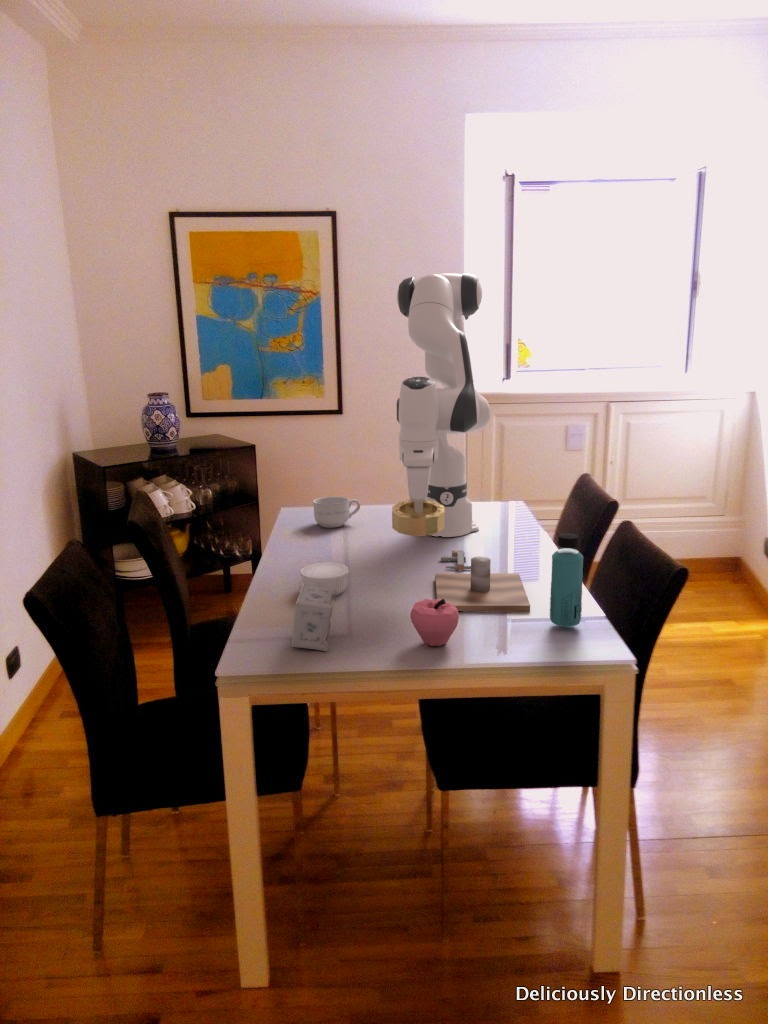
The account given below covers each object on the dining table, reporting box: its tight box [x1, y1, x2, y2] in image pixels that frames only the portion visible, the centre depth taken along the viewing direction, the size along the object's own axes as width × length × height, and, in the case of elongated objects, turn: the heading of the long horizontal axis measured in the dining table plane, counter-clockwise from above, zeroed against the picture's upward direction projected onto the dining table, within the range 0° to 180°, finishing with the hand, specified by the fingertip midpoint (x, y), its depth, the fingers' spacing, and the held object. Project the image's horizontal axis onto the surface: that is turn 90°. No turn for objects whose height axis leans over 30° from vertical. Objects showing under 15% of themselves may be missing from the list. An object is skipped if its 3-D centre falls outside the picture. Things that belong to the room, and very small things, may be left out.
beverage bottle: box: [549, 532, 584, 627], centre depth 164 cm, size 6×7×20 cm
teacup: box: [312, 496, 361, 529], centre depth 239 cm, size 14×11×8 cm
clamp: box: [440, 549, 471, 571], centre depth 204 cm, size 15×2×10 cm
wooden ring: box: [391, 499, 444, 537], centre depth 181 cm, size 12×12×4 cm
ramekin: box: [299, 561, 350, 597], centre depth 189 cm, size 11×11×5 cm
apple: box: [410, 598, 460, 647], centre depth 159 cm, size 10×9×10 cm
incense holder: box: [290, 585, 337, 652], centre depth 161 cm, size 10×8×10 cm
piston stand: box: [434, 556, 531, 613], centre depth 184 cm, size 20×20×8 cm
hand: (418, 510), depth 186 cm, fingers closed on wooden ring, 2 cm apart
